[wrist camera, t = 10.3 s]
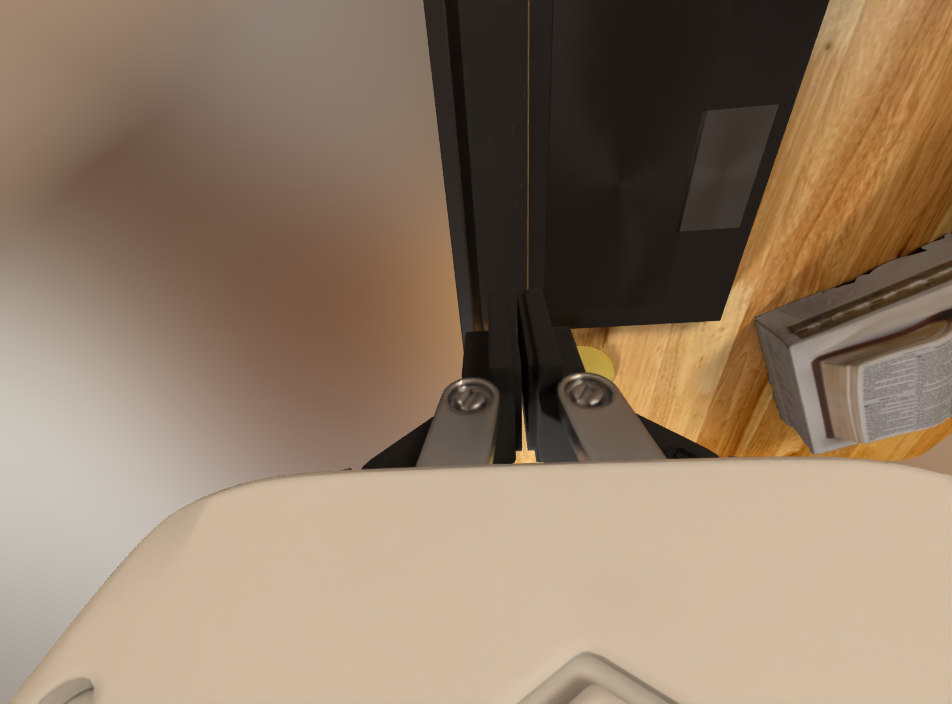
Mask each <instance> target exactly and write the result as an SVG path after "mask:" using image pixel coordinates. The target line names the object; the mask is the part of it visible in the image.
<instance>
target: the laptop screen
mask: <svg viewBox="0 0 952 704" xmlns="http://www.w3.org/2000/svg"><path fill="white" fill-rule="evenodd" d="M423 2H424V11H425V19H426V28H427V37H428V46H429V54H430V62H431V72H432V80H433V89H434V98H435V106H436V115H437V123H438V132H439V141H440V149H441V159H442V167H443V176H444V184H445V193H446V202H447V211H448V219H449V227H450V236H451V245H452V253H453V263H454V271H455V280H456V289H457V298H458V306H459V315H460V324H461V332H462V340H463V350H464V344H465V333H466V332H473V331H488V291H501V290H505V295H509V294H512V300H513V307H514V315H515V322H516V330H517V294H523V289H527V198H528V0H423Z"/></svg>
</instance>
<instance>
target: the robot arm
mask: <svg viewBox="0 0 952 704" xmlns="http://www.w3.org/2000/svg"><path fill="white" fill-rule="evenodd" d="M522 407H523V415H524V424H525V432H526V440H527V448H528V450H535V456H536V462H544V463H520V464H512V463H515V460H516V451H522ZM9 704H952V476H950V475H947V474H943V473H939V472H934V471H930V470H925V469H921V468H917V467H912V466H908V465H903V464H896V463H889V462H882V461H875V460H868V459H855V458H841V457H734V456H728V458H720V457H719V456H718V455H717V454H715V453H713V452H712V451H710V450H708V449H707V448H705V447H703V446H701V445H699V444H697V443H695V442H693V441H691V440H689V439H687V438H685V437H683V436H681V435H679V434H677V433H675V432H673V431H671V430H669V429H667V428H664V427H662V426H660V425H658V424H656V423H654V422H652V421H650V420H648V419H646V418H644V417H642V416H640V415H638V414H636V413H635V412H634V411H633V409H632V408H631V406H630V405H629V403H628V402H627V401H626V399H625V398H624V396H623V395H622V393H621V392H620V390H619V389H618V388H617V386H616V385H615V384H614V383H613V382H612V381H611V380H609V379H607V378H606V377H604V376H601V375H598V374H596V373H589V372H586V371H585V368H584V365H583V363H582V360H581V357H580V354H579V352H578V349H577V346H576V343H575V341H574V338H573V335H572V332H571V330H570V328H569V327H568V326H564V327H552V324H551V320H550V317H549V313H548V310H547V307H546V303H545V300H544V296H543V293H542V289H541V288H533V289H523V294H517V330H516V322H515V315H514V307H513V300H512V294H509V295H505V290H501V291H488V331H473V332H466V333H465V344H464V356H463V368H462V379H460V380H457V381H455V382H453V383H451V384H450V385H449V386H448V387H446V389H445V390H444V392H443V393H442V396H441V399H440V401H439V404H438V406H437V409H436V412H435V415H434V416H433V417H432V418H430V419H429V420H428V421H426V422H425V423H423V424H422V425H420V426H419V427H418V428H416V429H414V430H413V431H412V432H410V433H409V434H407V435H406V436H404V437H403V438H401V439H400V440H398V441H397V442H396V443H394V444H393V445H391V446H390V447H388V448H387V449H385V450H384V451H383V452H381V453H380V454H378V455H377V456H375V457H374V458H372V459H371V460H370V461H369V462H367V464H365V465H364V466H363V468H362V469H361V470H352V469H351V468H349V469H344V470H340V471H328V472H316V473H302V474H301V473H300V474H290V475H283V476H276V477H270V478H264V479H260V480H255V481H251V482H247V483H243V484H239V485H236V486H233V487H230V488H227V489H224V490H221V491H218V492H216V493H213V494H210V495H208V496H206V497H203V498H201V499H199V500H196V501H194V502H192V503H191V504H188V505H187V506H184V507H182V508H181V509H179V510H178V511H176V512H175V513H173V514H172V515H170V516H169V517H167V518H166V519H165V520H164V521H162V522H161V523H160V524H159V525H158V526H157V527H155V528H154V529H153V530H152V531H151V532H150V533H149V534H148V535H147V536H146V537H145V538H144V539H143V540H142V541H141V542H140V543H139V544H138V545H137V546H136V547H135V548H134V550H132V552H130V554H129V555H128V556H127V557H126V558H125V559H124V561H123V562H122V563H121V564H120V565H119V566H118V567H117V569H116V570H115V571H114V572H113V573H112V574H111V575H110V577H109V578H108V579H107V580H106V581H105V582H104V584H103V585H102V586H101V587H100V588H99V590H98V591H97V592H96V593H95V595H94V596H93V597H92V598H91V599H90V601H89V602H88V603H87V604H86V605H85V607H84V608H83V609H82V610H81V612H80V613H79V614H78V615H77V617H76V618H75V619H74V620H73V622H72V623H71V624H70V626H69V627H68V628H67V630H66V631H65V632H64V634H63V635H62V636H61V637H60V638H59V640H58V641H57V642H56V643H55V645H54V646H53V647H52V648H51V650H50V651H49V652H48V654H47V655H46V656H45V657H44V659H43V660H42V661H41V663H40V664H39V665H38V666H37V667H36V669H35V670H34V671H33V673H32V674H31V675H30V676H29V678H28V679H27V680H26V681H25V683H24V684H23V685H22V687H21V688H20V689H19V691H18V692H17V693H16V695H15V696H14V697H13V699H12V700H11V701H10V703H9Z"/></svg>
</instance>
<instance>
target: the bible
mask: <svg viewBox="0 0 952 704" xmlns="http://www.w3.org/2000/svg"><path fill="white" fill-rule="evenodd" d="M921 248H922V249H926V250H927V251H924V252H921V253H917V254H914V255H910V256H904V257H901V258H898V259H895V260H892V261H890V262H887V263H885V264H883V265H881V266H879V267H877V268H876V269H874V270H873V271H872V272H871V273H870V274H866V275H860V276H859V277H857V278H856V280H855V282H854V283H851V284H848V285H844V286H840V287H839V288H831V289H829V290H827V291H825V292H823V293H822V291H821V292H818V293H816V294H813V295H811V296H808V297H806V298H802V299H799V300H798V301H796V302H793V303H790V304H788V305H785V306H782V307H780V308H777V309H775V310H773V311H770V312H767V313H765V314H762V315H759V316H756V317H754V318H756V320H755V325H756V328H757V332H758V335H759V338H760V342H761V348H762V352H763V354H764V358H765V362H766V364H767V369H768V379H769V383H770V384H772V386H773V388H774V390H773V397H774V398H775V401H776V403H777V408H778V409H779V412H780V417H781V420H783V421H785V423H786V424H787V425H788V426H791V427H794V428H795V430H796V431H797V432H798V434H799V435H800V437H801V438H802V440H803V441H804V443H805V444H806V445H807V446H808V447H809V448H810V451H811V453H812V454H814V455H817V454H821V453H825V452H829V451H832V450H836V449H840V448H843V447H847V446H851V445H854V444H858V443H864V444H867V443H871V442H874V441H878V440H881V439H885V438H889V437H892V436H897V435H901V434H906V433H910V432H915V431H920V430H924V429H928V428H931V427H934V426H936V425H938V424H941V423H942V422H944V421H945V420H946V419H947V418H949V417H952V233H950V234H946V235H945V237H944V238H943V239H941V240H938V241H934V242H931V243H929V244H926V245H924V246H922V247H921Z"/></svg>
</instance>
